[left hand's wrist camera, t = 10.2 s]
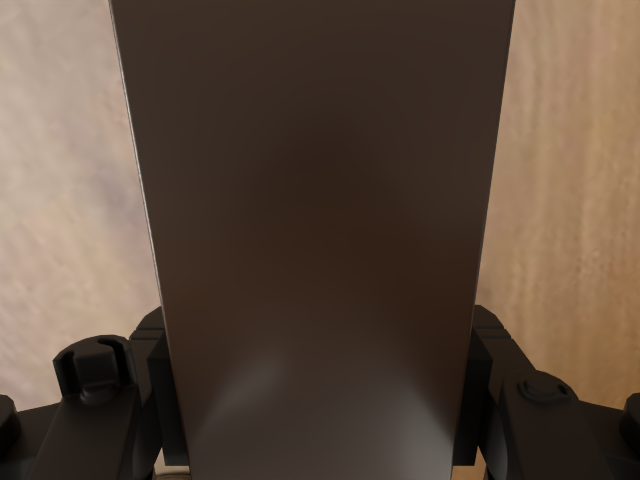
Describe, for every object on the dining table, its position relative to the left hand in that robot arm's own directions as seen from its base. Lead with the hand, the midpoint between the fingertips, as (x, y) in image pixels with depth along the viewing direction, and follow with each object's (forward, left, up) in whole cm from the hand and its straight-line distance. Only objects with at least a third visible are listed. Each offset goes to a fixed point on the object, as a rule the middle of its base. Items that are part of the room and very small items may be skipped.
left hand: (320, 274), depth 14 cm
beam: (+12, 0, -1) cm, 12 cm away
